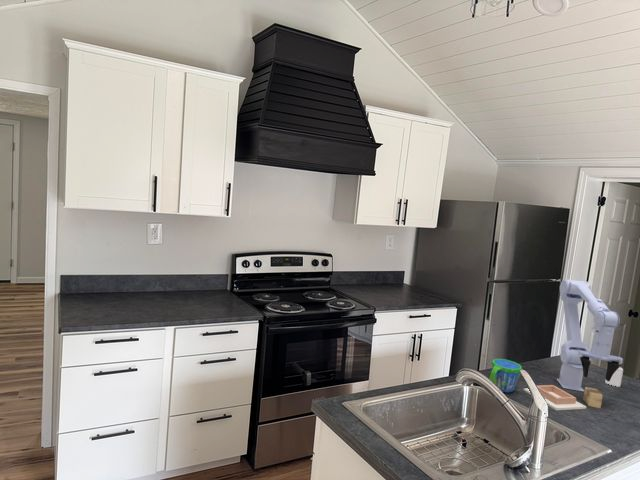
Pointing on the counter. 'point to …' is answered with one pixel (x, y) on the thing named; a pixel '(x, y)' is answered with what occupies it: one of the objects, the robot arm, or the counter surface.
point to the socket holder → (558, 398)
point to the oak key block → (592, 397)
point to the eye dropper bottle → (616, 378)
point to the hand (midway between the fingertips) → (596, 378)
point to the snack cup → (505, 374)
